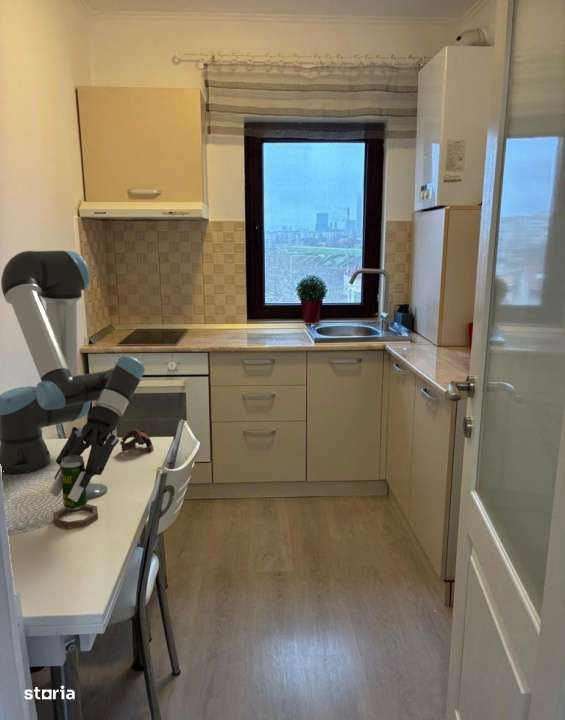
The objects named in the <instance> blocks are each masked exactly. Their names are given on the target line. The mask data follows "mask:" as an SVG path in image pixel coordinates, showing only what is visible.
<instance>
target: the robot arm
mask: <svg viewBox="0 0 565 720" xmlns="http://www.w3.org/2000/svg"><path fill="white" fill-rule="evenodd" d="M89 271H90V270H89V267H88V264H87V262H86V261H85V259H84V258H83V256H82V255H81V254H79V253H78V252H76V251H71V250H70V251H69V250H26V251H25V250H23V251H22V252H19V253H17V254H15V255H13V257H11V258H10V259H9V260H8V261H7V263H6V265H5V266H4V269H3V271H2V274H1V279H0V280H1V281H0V282H1V283H0V284H1V291H2V294H3V298H4V299H5V302H7V304H9V305H11V307H12V308H13V311H14V315H15V317H16V319H17V323H18V324H19V326H20V330H21V332H22V334H23V338H24V340H25V342H26V345H27V348H28V350H29V352H30V355H31V358H32V361H33V363H34V366H35V369H36V371H37V373H38V376H39V378H40V382H38V383H37V384H36V386H31V385H30V386H29V385H28V386H20V387H15V388H12V389H10V390H6V391H4V392H2V393H1V394H0V464H1V466H2V472H1V473H2V474H7V473H17V474H22V473H21V472H25V473H28V472H27V471H30V472H33V471H32V470H34V471H37V469H38V470H41V469H43V468H45V467H46V466H48V465H49V464H50V463H51V461H52V460H51V459H52V458H51V453H50V450H49V449H48V446H47V444H46V443H45V440H44V438H43V428H45V427H46V428H47V427H50V426H55V425H60V424H65V423H72V422H74V421H76V420H79V419H83V418H84V417H85V416H87V420H86V423H85V424H84V425H83V426H82V427H77V426H74V427H72V429H71V433H70V435H69V437H68V439H67V441H66V442H65V444H64V445H63V448H62V449H61V451H60V452H59V455H58V456H57V457H56V459H55V463H56V464H58V466H59V469H58V471H57V472H56V474H55V476H54V478H53V479H54V481H53V483H52V484H51V487H50V489H49V491H48V493H49V494H51V495H53V496H54V497H59V495H60V493H61V491H62V478H61V460H62V458H64V457H67V456H71V455H80V456H82V454H83V453H84V452H85V450H87V449H88V448H90V451H89V454H88V457H87V461H86V464H85V465H86V466H85V469H83V471H85V473H84V472H82V471H81V473H80V475H79V477H78V479H77V481H76V482H75V484H74V486H73V488H72V490H71V492H70V494H69V496H68V498H70V499H71V500H73V501H75V502H77V501H78V499H79V497H80V495H81V493H82V491H83V489H84V488H86V487H87V486H88V484H90V483H91V480H92V478H93V477H94V476H101V475H102V474H103V472H104V470H105V467H106V465H107V464H108V462H109V459H110V457H111V454H112V452H113V451H114V448H115V447H116V446H117V445H118V443H120V438H118V437H117V436H116V435H114V434H113V432H115V430H116V429H117V427H118V425H119V423H120V422H121V417H122V416H123V415H124V414H125V411H126V409H127V407H128V405H129V403H130V401H131V399H132V398H133V395H134V394H135V392H136V390H137V388H138V386H139V384H140V382H141V381H142V377H143V376H144V373H145V371H146V368H145V365H144V363H142V362H141V361H140V360H139V359H137V358H135V357H132V356H129V355H123V356H120V357H119V358H118V360H117V361H116V363H115V366H114V367H113V368H109V369H107V370H103V371H98V372H92V373H91V372H90V373H86V374H81V375H80V374H79V375H78V335H77V334H78V327H77V326H78V325H77V321H78V320H77V319H78V317H77V303H78V301H79V300H80V299H82V292H83V291H84V290H86V289H88V288H89V284H90V272H89ZM42 299H43V300H42ZM43 301H45V306H44V303H43ZM91 402H94V405H93V406H92V408H91V409H90V407H91ZM89 411H90V412H89ZM87 414H88V415H87ZM3 471H4V473H3Z"/></svg>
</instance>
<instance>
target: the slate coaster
mask: <svg viewBox="0 0 565 720" xmlns="http://www.w3.org/2000/svg"><path fill="white" fill-rule="evenodd" d="M107 492H108V487H107V485H105V484H104V483H103V484H102V483H98V482H97V483H95V482H94V483H89V484H88V486H87V487H86V493H87V499H88V500H93V499H97V497H98V498H100V497H102V496H103V495H104V496H105V495H106V494H107Z"/></svg>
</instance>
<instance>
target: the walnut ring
mask: <svg viewBox="0 0 565 720" xmlns="http://www.w3.org/2000/svg"><path fill="white" fill-rule="evenodd" d="M78 512H87V513H91V514H90V515H88V516H86V517H85V518H83V519H78V520H73V521H72V520H71V521H66V520H63V519H61V518H62V517H64V516H66V515H68V514H71V513H78ZM98 519H99V512H98V506H96V505H93V504H89V503H86V505H85V506H84V507H83V508H81V509H77V510H68V509H66V508H65V506H64V507H62V508H60V509H59V510H57V511H55V512H54V513H53V527H56V528H58V529H61V530H66V531H67V530H68V531H69V530H75V529H80V528H86V527H88V526H90V525H92V524H93V523H95V522H96V521H98Z"/></svg>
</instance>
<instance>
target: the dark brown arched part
mask: <svg viewBox="0 0 565 720" xmlns="http://www.w3.org/2000/svg"><path fill="white" fill-rule="evenodd" d="M132 436H133V438H132V439H131V440H129V441H127V440H128V439H129V438H130V437H132ZM126 441H127V442H126ZM119 444H120V446H121V451H122V452H123V453H125V452H128V451H130V450H137V445H139V446H140V445H141V446H143V445H145V446H146V448H148V449H149V450H150V452H151V451H154V445H153V443H152V440H151V438H150V437H149V435H147V433H145V430H144V429H143V428H139V429H132V430H130V431H128V432H127V433H126V434H125V435H123V437H122V438H121V441H119Z"/></svg>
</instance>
